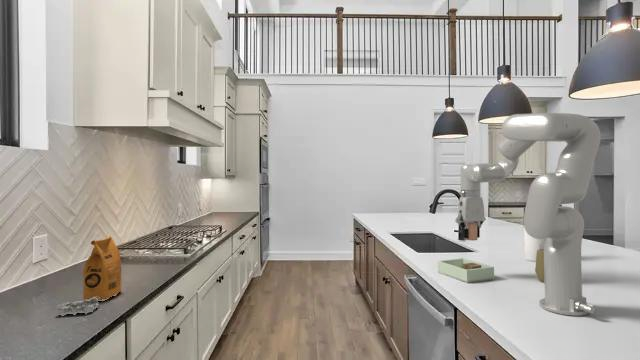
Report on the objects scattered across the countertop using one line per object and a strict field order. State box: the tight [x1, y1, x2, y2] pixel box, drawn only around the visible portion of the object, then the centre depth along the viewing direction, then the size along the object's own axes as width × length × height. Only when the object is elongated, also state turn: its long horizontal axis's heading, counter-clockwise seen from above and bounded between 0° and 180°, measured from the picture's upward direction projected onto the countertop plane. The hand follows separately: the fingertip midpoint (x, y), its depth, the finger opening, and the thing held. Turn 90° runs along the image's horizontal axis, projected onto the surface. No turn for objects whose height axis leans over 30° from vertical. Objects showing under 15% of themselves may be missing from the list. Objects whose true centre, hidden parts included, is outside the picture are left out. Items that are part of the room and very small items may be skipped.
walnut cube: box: [463, 263, 481, 270], centre depth 141 cm, size 5×5×5 cm
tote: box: [437, 257, 495, 284], centre depth 144 cm, size 18×14×5 cm
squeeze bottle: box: [534, 239, 546, 283], centre depth 134 cm, size 8×8×18 cm
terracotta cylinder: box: [463, 222, 478, 241], centre depth 143 cm, size 5×5×7 cm
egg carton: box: [56, 296, 100, 314], centre depth 113 cm, size 11×8×4 cm
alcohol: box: [523, 227, 544, 263], centre depth 168 cm, size 9×9×30 cm
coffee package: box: [82, 235, 122, 301], centre depth 127 cm, size 10×12×22 cm
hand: (470, 237), depth 143 cm, fingers closed on terracotta cylinder, 5 cm apart
